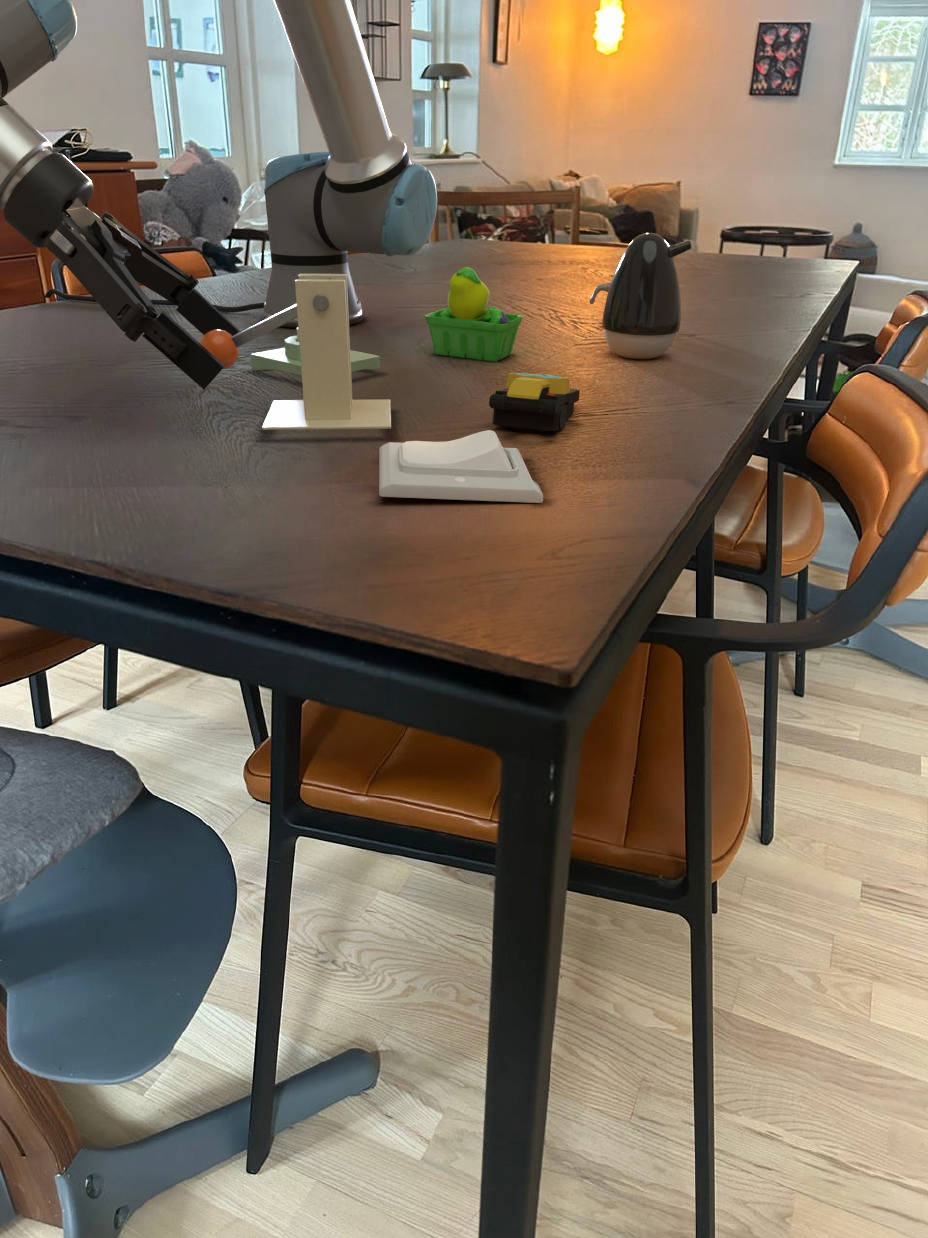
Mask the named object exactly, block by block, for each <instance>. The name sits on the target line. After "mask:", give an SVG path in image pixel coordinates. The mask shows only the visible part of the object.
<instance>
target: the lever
mask: <svg viewBox="0 0 928 1238" xmlns="http://www.w3.org/2000/svg"><path fill="white" fill-rule="evenodd" d="M326 280H332V279H331V278H328V279H326ZM296 318H298V316H297V304H296V305H294V306H292V307H290V308H288V309H286V310H284V311H282V312H280V313H278V314H276V315H274V316H272V317H270V318H268V319H266V320H264V319H263V320H262V321H260V322H258V323H256V324H254V325H252V326H250V327H248V328H246V329H244V330H242V331H241V332H240V333H238V334H236V335H234V336H232V335H231V334H229V333H228V332H226V331H223V330H212V331H209V332H207V333H206V334H205V335H203V336H202V337H201V338H200V341H199V343H200V344H201V345H202V346H203V347H205V348H206V349H207V350H208V351H209V352H210V353H211V354H212V355H213V356H215V357H216V358H217V359H218V360H219V361H220V362H221V363H222V364H223V365H225V367H224V368H223V369H222V370H225V369H229V368H231V367H233V365H234V364H235V363H236V362H237V360H238V358H239V354H240V349H239V347H241V346H243V345H245V344H248V343H249V342H251V341H254V340H255V339H258V338H260V337H261V336H263V335H265V334H266V335H267V334H268V333H270V332H272V331H273V330H277V328H280V327H283V326H282V325H284V324H286V323H288V322H290V321H292V320H294V319H296Z"/></svg>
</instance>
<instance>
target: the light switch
mask: <svg viewBox="0 0 928 1238" xmlns="http://www.w3.org/2000/svg"><path fill="white" fill-rule="evenodd" d="M378 463H379V464H378V495H379V496H380V497H384V498H407V499H408V498H409V499H412V498H413V499H430V500H431V499H433V500H434V499H435V500H458V501H459V500H460V501H462V500H463V501H484V502H506V503H508V502H509V503H514V502H515V503H532V504H534V503H535V504H542V503H543V502H544V493H543V492H542V489H541V487H540V485H539V483H538V481H537V480H536V479H533V478H532V477H531V474H530V472H529V470H528V467H527V465H526V463H525V461H524V458H523V456H522V455H521V452H520V450H519V448H517V447H503V445H502V443H501V440H500V438H499V437H498V434H497V433H496V432H495V431H494V430H491V429H487V430H482V431H479V432H475V433H472V434H469V435H466V436H463V437H460V438H457V439H452V440H448V441H426V440H425V441H423V440H409V441H404V442H394V441H393V442H392V441H390V442H387V443H384V444H382V445H381V446H380V447H379V449H378Z"/></svg>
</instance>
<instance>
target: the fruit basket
mask: <svg viewBox="0 0 928 1238" xmlns="http://www.w3.org/2000/svg"><path fill="white" fill-rule="evenodd" d="M448 285H449V291H448V295H447V296H448V297H447V306H448V307H447V308H442V309H439V310H436V311H433V312H430V313H427V314H425V315H424V318H425V322H426V324H427V325H428V329H429V334H430V337H431V338H430V339H431V341H432V347H433V350H434V354H435V355H437V356H444V357H445V356H446V357H447V356H449V357H453V358H462V359H470V360H478V361H479V360H480V361H485V362H496V363H497V362H498V361H500V360H503V359H505V358H507V357H508V356H510V355H512V352H513V349H514V345H515V342H516V337H517V334H518V331H519V327H520V325H521V323H522V321H523V318H524V317H523V315H521V314H517V313H516V314H514V313H507V312H504V311H502V310H501V309H498V307H496V306H495V305H494V306H491V307H490V308H488V305H489V301H490V296H491V291H490V290H489V288H488V287H487V285H486V284H485V283H484V282H483V281H482V280H481V279H480V278H479V277H478V274H477V273H476V271H475V270H474V269H473V268H472V267H469V266H464V267H462V268H460V270H459V269H458V270H457V271H456V272H455V273H454V274H453V275H452V276H451V278H450V280H449V284H448Z"/></svg>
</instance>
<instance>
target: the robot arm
mask: <svg viewBox="0 0 928 1238" xmlns="http://www.w3.org/2000/svg"><path fill="white" fill-rule="evenodd" d="M273 2H274V5H275V8H276V10H277V13H278V15H279V18H280V21H281V23H282V26H283V29H284V32H285V35H286V38H287V42H289V46H290V49H291V52H292V54H293V58H294V59H295V62H296V65H297V67H298V71H299V73H300V76H301V79H302V81H303V84H304V87H305V90H306V92H307V96H308V98H309V101H310V103H311V106H312V109H313V111H314V114H315V117H316V121H317V123H318V125H319V128H320V131H321V134H322V137H323V139H324V142H325V145H326V148H327V150H328V151H318V152H307V153H297V154H289V155H284V156H279V157H275V158H272V159H270V160H269V161H268V162H267V163H266V165H265V168H264V189H263V193H264V194H263V195H264V200H265V209H266V210H265V211H266V221H267V232H268V241H269V251H270V260H271V262H270V263H271V271H270V275H269V280H268V286H267V291H266V297H265V301H264V302H258V303H249V304H245V305H239V306H224V305H218V304H213V303H211V302H210V301H209V300H208V299H207V298H206V297H204V296H203V295H202V294H201V293H200V292H199V291H198V290H197V289H196V287H197V285H199V283H200V282H199V280H198V279H197V277H195V276H194V275H193V274H191V275H189V274H188V273H187V272H186V273H185V272H184V271H183V270H182V269H180V267H178V266H177V265H176V264H174V263H172V262H171V261H170V260H169V259H168V258H166V257H165V256H163V255H162V254H161V253H159V252H158V251H157V250H155V249H154V248H153V247H151V246H150V245H149V244H148V243H146V242H145V241H144V240H143V239H141V238H139V236H137V235H136V234H135V233H133V232H132V231H130V230H129V229H128V228H127V227H126V226H124V225H123V224H122V222H120V221H119V220H117V219H116V218H115V217H114V215H113V214H112V213H110V212H108V211H106V210H105V211H104V212H103V213H102V215H101V216H99V215H97V214H96V213H95V212H94V211H91V209H90V208H89V207H88V202H89V201H90V200H91V199H92V197H93V193H94V183H93V181H92V180H91V179H90V178H89V177H88V176H87V175H86V174H85V173H83V172H82V171H81V170H80V169H79V168H78V166H76V165H75V164H74V163H73V162H72V161H71V160H70V159H69V158H67V156H66V155H64V154H63V153H61V152H60V153H58V152H53V150H54V149H53V144H52V142H51V141H50V140H49V139H48V138H47V137H46V136H44V134H43V133H42V132H41V131H39V130H38V129H37V128H36V127H35V126H34V125H32V123H31V122H29V121H28V120H27V119H26V118H25V117H24V116H23V115H22V114H21V113H20V112H18V111H17V110H16V109H15V108H14V107H13V106H12V105H11V104H9V102H7V101H6V100H5V99H4V98H5V97H6V96H7V95H8V94H10V93H11V92H13V91H14V90H15V89H16V88H18V87H19V86H20V85H21V84H23V83H24V82H26V81H27V80H28V79H30V78H31V77H32V76H34V75H35V74H36V73H38V72H39V71H40V70H41V69H43V68H44V67H45V66H46V65H48V64H49V63H50V62H54V61H56V60H57V59H58V57H59V55H60V54H61V53H62V52H63V51H64V50H65V49H66V48H67V47H68V46H69V45H70V44H72V42H73V40H74V39H75V38H76V35H77V30H78V19H77V15H76V11H75V7H74V4H73V2H72V0H0V211H2V214H3V217H4V221H5V222H6V223H8V224H9V225H10V226H11V227H12V228H13V229H15V231H17V232H18V233H19V234H20V235H21V236H22V237H24V239H26V240H27V241H28V242H29V243H30V244H31V245H33V246H34V247H36V248H39V249H44V248H46V249H47V250H48V251H50V253H52V255H54V256H55V257H56V258H57V259H58V260H59V261H60V262H62V264H63V265H64V266H66V268H67V269H68V270H69V271H70V272H71V274H72V275H73V276H74V278H76V279H77V281H78V282H79V283H80V284H81V285H82V286H83V287H84V288H85V289H86V291H87V292H88V293H89V294H90V295H78V294H69V293H65V292H63V291H61V290H59V289H57V288H49V289H48V291H46V293H45V294H44V296H43V298H44V299H50V298H51V297H52V295H56V296H58V297H60V298H61V299H64V300H69V301H70V300H71V301H79V302H90V303H91V302H92V303H97V304H99V306H100V307H101V309H102V310H104V312H105V313H106V314H107V316H109V318H110V319H111V320H112V321H113V322H114V323H115V324H116V326H117V327H118V328H119V330H121V331H122V332H124V335H125V337H126V338H127V339H129V340H130V341H132V342H137V341H138V340H139V338H140V337H141V336H142V337H143V338H144V339H145V340H146V341H147V342H148V343H150V344H151V345H152V346H153V347H154V348H155V349H156V350H158V351H159V352H160V353H161V354H162V355H163V356H164V357H166V358H167V359H168V360H169V361H170V362H171V363H172V364H174V365H175V366H176V367H177V368H178V369H180V370H181V371H182V372H183V373H184V374H185V375H186V376H188V377H189V378H190V379H191V380H192V381H193V382H194V383H196V385H198V386H199V387H200V388H201V389H202V390H206V389H207V387H209V385H210V384H211V383H212V382H213V380H214V379H215V378H216V377H217V376H218V375H219V374H220V373H221V371H222V370H224V369H223V368H224V367H225V365H223V364H222V363H221V362H220V361H219V360H218V359H217V358H216V357H215V356H213V355H212V354H211V353H210V352H209V351H208V350H207V349H206V348H205V347H203V346H202V345H201V344H200V341H198V340H197V339H196V338H195V337H193V336H192V335H191V334H190V333H189V332H188V331H187V330H186V329H185V328H184V327H182V325H180V324H179V323H178V322H177V321H176V320H175V319H174V318H172V317H171V316H170V315H169V314H168V313H167V312H166V311H165V310H163V311H162V312H161V313H159V311H158V309H157V308H156V307H155V306H172V307H173V306H174V307H177V308H176V309H175V311H177V313H179V314H180V315H181V316H182V317H183V319H185V320H186V321H187V322H188V323H190V325H192V326H193V327H194V328H195V329H196V330H197V331H198V332H200V333H201V334H202V335H203V336H204V335H205V334H206V333H207V332H209V331H212V330H223V331H226V332H228V333H229V334H231V335H232V336H234V335H236V334H238V333H240V332H242V331H241V330H240V329H239V327H237V326H235V324H234V323H232V322H231V321H230V320H229V319H228V318H227V317H226V316H225V315H224V314H223V313H241V312H247V311H253V310H259V309H262V311H263V321H264V320H266V319H268V318H270V317H272V316H274V315H276V314H278V313H280V312H282V311H284V310H286V309H288V308H290V307H292V306H294V305H296V304H297V302H296V289H295V280H296V279H299V274H347V292H348V314H349V326H350V325H355V324H358V323H360V322H361V321H362V320H363V309H362V304H361V301H360V300H358V294H357V290H356V287H355V284H354V281H353V278H352V275H351V272H350V267H349V256H348V255H349V254H348V253H349V252H352V253H362V254H363V253H364V254H376V255H385V256H386V257H394V256H412V255H414V254H416V253H418V252H419V251H421V249H422V248H423V247H424V246H425V245H426V243H427V241H428V240H429V238H430V236H431V234H432V232H433V229H434V225H435V219H436V217H437V209H438V191H437V185H436V181H435V178H434V175H433V173H432V172H431V170H430V169H429V168H426V166H424V165H422V164H420V163H414V164H413V163H412V161H411V158H410V155H409V151H408V148H407V144H406V142H405V140H404V139H403V137H401V136H399V135H397V134H395V133H393V132H391V130H390V127H389V124H388V121H387V116H386V114H385V110H384V108H383V104H382V99H381V98H380V95H379V91H378V87H377V84H376V81H375V78H374V74H373V71H372V67H371V65H370V61H369V58H368V55H367V52H366V48H365V44H364V42H363V41H364V40H363V38H362V35H361V31H360V28H359V25H358V22H357V19H356V15H355V11H354V8H353V5H352V2H351V0H273ZM140 285H142V286H143V287H145V288H147V289H149V291H150V290H151V291H152V292H153V293H155V294H157V295H158V296H160V297H162V298H163V299H153V298H152V299H151V298H150V299H149V297H148V296H147V294H146V293H145V292H144V290H143V289H142V288H141V286H140ZM222 312H223V313H222ZM281 327H283V328H284V327H285V328H295V329H297V328H298V318H296V319H294V320H292V321H290V322H288V323H286V324H284V325H282V326H281Z"/></svg>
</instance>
